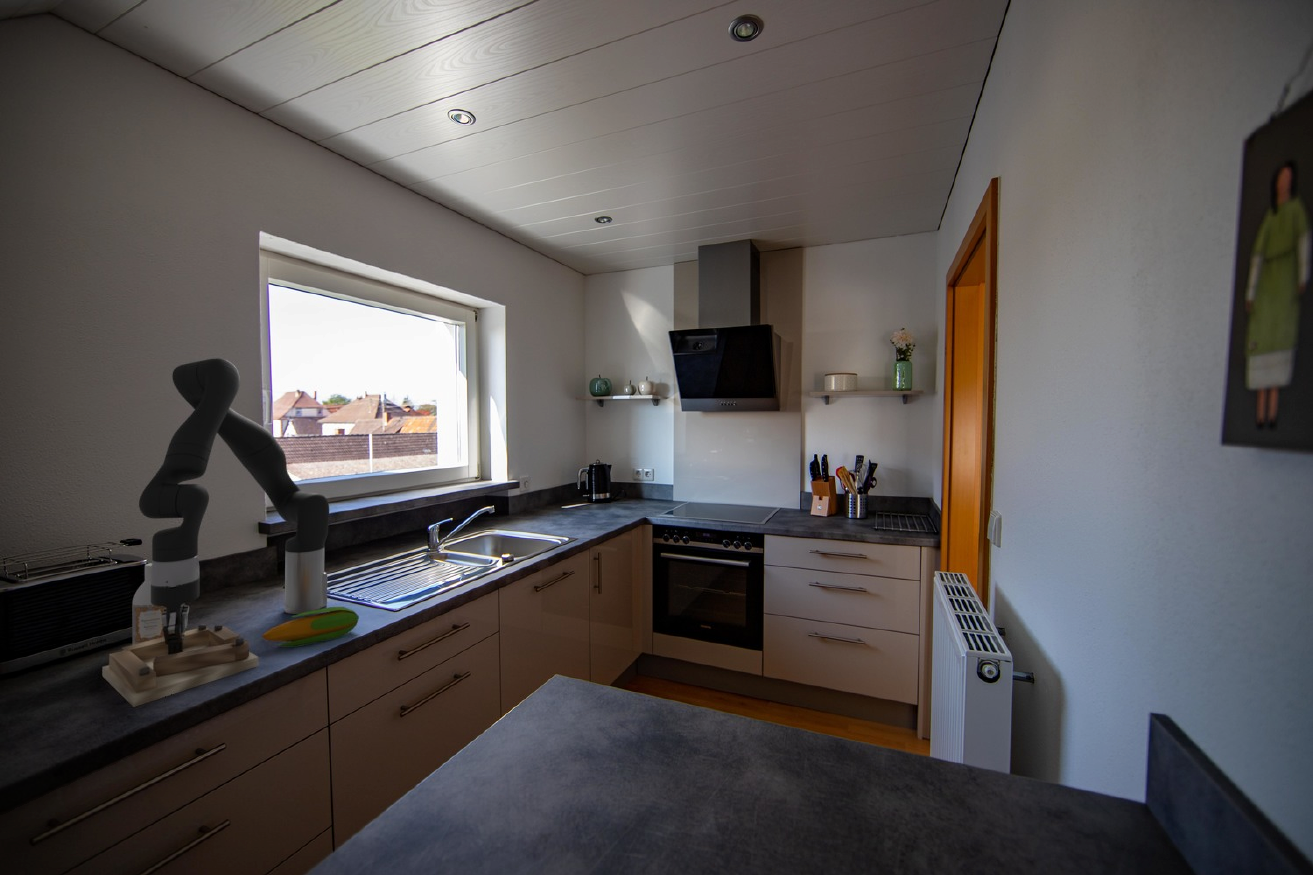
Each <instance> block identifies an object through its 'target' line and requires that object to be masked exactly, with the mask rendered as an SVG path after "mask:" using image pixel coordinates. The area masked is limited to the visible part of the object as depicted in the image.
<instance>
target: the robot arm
mask: <svg viewBox="0 0 1313 875" xmlns="http://www.w3.org/2000/svg"><path fill="white" fill-rule="evenodd" d="M171 375H172V377H171V378H172V382H173V384H174V387H175V388H176V390H177V391H178V392H177V393H179V395H180V396H181V397H182V398H183V399H184V400H185V401H186V402H187V403H188V405H189V406H191V408H193V409H194V411H192V412H191V414H190V415H189V416H188V417H187V418H186V419H185V421H184V422H182V424H181V425H180V426H179V427H178V429H177V430H176V431H175V433H174V434H173V436H172V438H171V440H170V441H169V444H168V447H167V451H166V454H165V457H164V460H163V463H162V465H161V466H160V468H159V469H158V470H157V472H156V474H155V475H154V476H153V477H152V479H151V480H150V481H149V482H148V484H147V485H146V486H145V488H144V490H143V491H142V493H141V495H140V497H139V499H138V500H139V502H138V508H139V510H140V513H141V514H142V515H143V516H145V517H146V518H148V519H154V520H155V519H157V520H158V519H180V518H181V519H182V523H181V524H180V525H178V526H175V527H169V528H164V529H160V530H158V531H156V532H155V533H154V534H153V535H152V540H151V543H152V544H151V548H152V549H151V558H152V559H151V560H152V561H151V563H152V566H151V604H152V605H154V606H164V607H166V609H164V611H163V613H162V622H163V634H164V638H165V644H166V645H168V655H169V654H175V653H180V652H183V640H184V637H185V634H184V633H185V631H187V626H188V615H189V612H190V606H189V605H186V604H185V603H187V604H188V603H191V602H193V601H195V600H197V599H198V598H199V597H200V563H199V554H198V553H199V552H198V550H199V549H198V548H199V547H198V546H199V545H198V544H199V543H198V542H199V532H200V528H201V524H202V522H203V518H204V516H205V513H206V511H207V508H208V505H209V500H210V494H209V492H208V490H207V488H205V486H203V485H201V484H197V483H185V484H183V482H187V481H191V480H195V479H197V480H198V479H200V478H202V477H203V476H204V475H205V473H206V472H207V467H208V464H209V460H210V457H211V452H212V448H213V444H214V441H215V439H216V436H217V434H218V436H219V437H220V438H221V439H222V441H223V442H224V443H225V444H226V446H228V448H229V450H231V451H232V453H233V455H234V456H235V457H236V458H237V460H238V461H239V462H240V463H241V464H242V466H243V467H244V468H245V470H247V472H249V474H250V475H251V476H252V477H253V479H254V480H255V482H256V483H258V485H259V486H260V487H261V489H262V490H263V491H264V492H265V494H266V495H267V497H268V498H269V500H270V502H271V504H272V505H273V507H274V509H275V510H276V512H277V513H278V515H279V516H280V517H281V519H282V520H283V521H285V522H286V523H289V524H293V525H296V533H295V536H293V537H290V538H288V539H286V541H285V544H284V545H285V546H284V547H285V549H284V550H285V558H284V559H285V561H284V562H285V563H284V564H285V566H284V567H285V568H284V571H285V572H284V575H285V576H284V578H285V579H284V612H285V613H286V614H289V615H290V614H291V615H298V614H301V613H304V612H309V611H314V610H319V609H323V608H325V607H327V605H328V573H327V572H325V544H326V540H327V537H328V534H329V525H330V524H329V522H330V503H329V502H328V501H329V500H328V499H327V498H326V496H324V495H323V494H321V493H317V492H310V491H308V492H307V491H303V490H302V489H301V488H300V487H298V485H297V484H296V483H295V482H294V480H293V479H292V477H291V476H290V474H289V471H288V466H287V464H288V463H287V456H286V452H285V451H284V449H283V448H282V446H281V444H279V442H278V441H277V439H276V438H275V437H274V435H273V434H272V433H271V432H270V431H269V430H268V429H267V428H266V427H264V426H262V425H260V424H259V423H258V422H255V421H253V420H252V419H250V418H248V417H245V416H244V415H242V414H240V413H238V412H237V411H235V410H234V409H233V408H231V405H232V403H233V401H234V400H235V398H236V396H237V395H238V392H239V389H240V386H241V375H240V373H239V370H238V368H237V367H236V366H235V364H234V363H232V362H231V361H229V360H227V359H226V358H221V357H220V358H219V357H217V358H215V357H214V358H207V359H204V360H199V361H194V362H189V363H185V364H180V365H178V366H176V367H175V368H174V369H173V371H172V374H171ZM180 483H181V484H180Z"/></svg>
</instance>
